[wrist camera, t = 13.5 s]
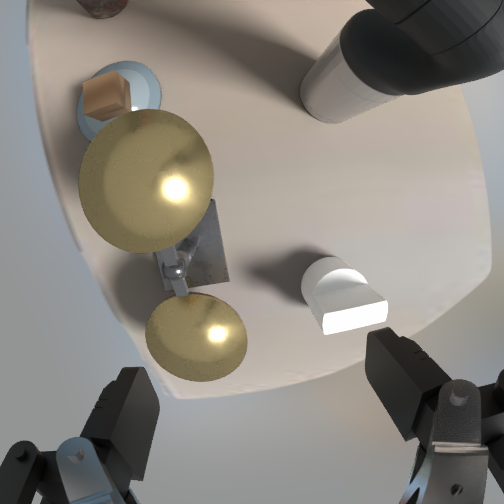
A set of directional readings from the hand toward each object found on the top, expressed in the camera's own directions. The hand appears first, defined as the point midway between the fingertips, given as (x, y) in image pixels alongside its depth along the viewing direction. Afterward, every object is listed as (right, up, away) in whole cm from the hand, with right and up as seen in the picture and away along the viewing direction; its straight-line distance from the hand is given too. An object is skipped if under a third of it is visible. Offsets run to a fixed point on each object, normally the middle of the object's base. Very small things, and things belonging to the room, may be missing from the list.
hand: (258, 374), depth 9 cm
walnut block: (-20, +26, +25) cm, 41 cm away
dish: (-20, +27, +26) cm, 42 cm away
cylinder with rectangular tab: (+12, -1, +35) cm, 37 cm away
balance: (-9, +5, +32) cm, 34 cm away
